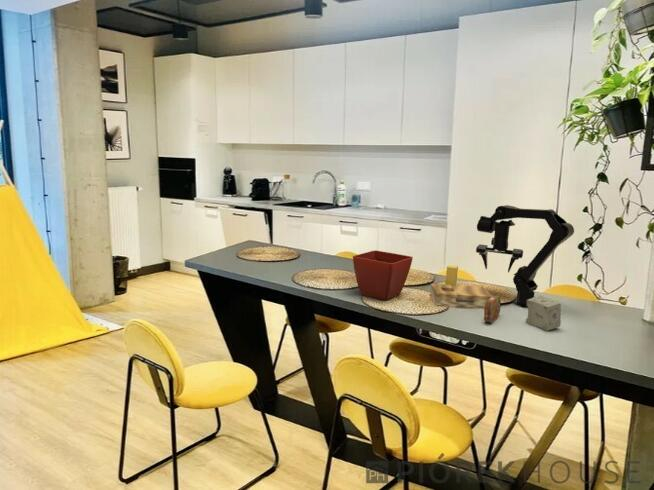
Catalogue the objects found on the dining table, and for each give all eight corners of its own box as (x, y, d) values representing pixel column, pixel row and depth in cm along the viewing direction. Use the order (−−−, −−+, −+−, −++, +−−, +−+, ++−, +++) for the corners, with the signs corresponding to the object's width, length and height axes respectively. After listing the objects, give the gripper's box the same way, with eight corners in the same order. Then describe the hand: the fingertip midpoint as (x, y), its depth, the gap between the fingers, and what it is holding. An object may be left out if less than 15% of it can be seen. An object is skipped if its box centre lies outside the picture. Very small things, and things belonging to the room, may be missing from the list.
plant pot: (372, 285, 235) (374, 249, 232) (410, 294, 224) (413, 256, 221) (349, 294, 220) (351, 256, 216) (389, 304, 209) (392, 263, 206)
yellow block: (455, 292, 230) (458, 266, 228) (453, 295, 227) (456, 268, 224) (446, 291, 232) (448, 265, 230) (444, 293, 228) (446, 266, 226)
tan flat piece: (481, 297, 224) (482, 286, 224) (492, 309, 208) (493, 297, 207) (430, 294, 225) (431, 283, 224) (437, 306, 209) (438, 294, 208)
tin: (489, 325, 190) (492, 303, 188) (481, 323, 191) (483, 302, 190) (500, 315, 202) (502, 294, 201) (492, 313, 204) (494, 292, 202)
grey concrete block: (523, 323, 194) (526, 296, 192) (539, 321, 198) (542, 294, 196) (544, 332, 185) (547, 304, 183) (560, 329, 189) (564, 302, 187)
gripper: (526, 234, 224) (521, 270, 227) (481, 229, 231) (477, 264, 234) (524, 238, 214) (519, 275, 217) (477, 233, 221) (473, 269, 224)
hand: (497, 270), depth 223 cm, fingers open, 9 cm apart
